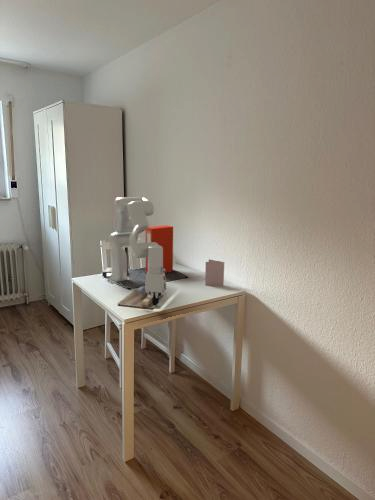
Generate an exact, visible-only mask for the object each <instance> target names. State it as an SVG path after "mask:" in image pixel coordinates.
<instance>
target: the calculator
mask: <svg viewBox="0 0 375 500" xmlns="http://www.w3.org/2000/svg"><path fill="white" fill-rule="evenodd" d="M107 273H109V274H111V273H112V269H111V267H106V268H105V269H104V270H103V271H102V277H103V276H104V277H103V278H107V277H106V274H107ZM128 274H129V269H128V268H127V275H128Z"/></svg>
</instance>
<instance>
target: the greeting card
mask: <svg viewBox="0 0 375 500" xmlns="http://www.w3.org/2000/svg"><path fill="white" fill-rule="evenodd" d="M204 270H205V273H204V274H205V275H204V276H205V278H204V286H220V287H221V286H224V283H225V282H224V280H225V262H224V261H220V260H214V259H208V261H205V269H204Z"/></svg>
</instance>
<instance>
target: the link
mask: <svg viewBox="0 0 375 500" xmlns="http://www.w3.org/2000/svg"><path fill="white" fill-rule="evenodd" d="M161 296H162V295H160V296H159V298H160V297H161ZM151 302H152V297H151V295H150V294H148V295H147V297H146V298H145V299H144V300H143V301H142V306H141V307H145V306H148V305H149V304H150V303H151Z"/></svg>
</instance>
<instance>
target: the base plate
mask: <svg viewBox="0 0 375 500" xmlns="http://www.w3.org/2000/svg"><path fill="white" fill-rule="evenodd" d="M148 294H149V293H145V294H141V292H137V290H135V289H134V290H133V291H131V292H130V293H129V294H128V295H126V296H125V297H123V299H121V300H120V301H119V302H117V307H122V308H123V307H124V308H131V309H140V310H148V311H149V310H150V311H153V310H154V309H155V308H154V306H155V305H153V303H152V302H151V303H150V304H149V305H148V306H142V301H143V300H144V299H145V298H146V297H147V295H148ZM164 296H165V295H162V296H161V297H160V298H159V301H160V300H161V299H162V298H163V297H164Z"/></svg>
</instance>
